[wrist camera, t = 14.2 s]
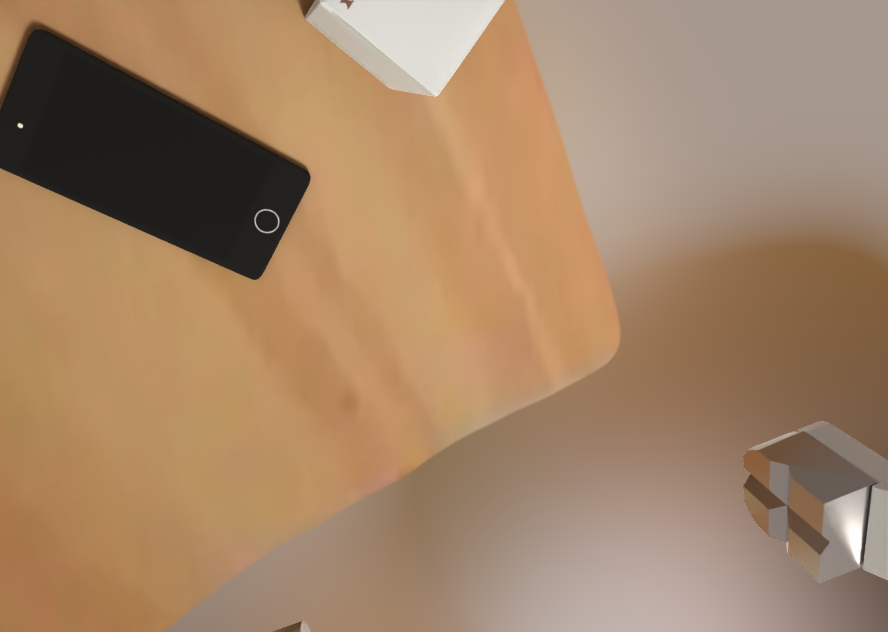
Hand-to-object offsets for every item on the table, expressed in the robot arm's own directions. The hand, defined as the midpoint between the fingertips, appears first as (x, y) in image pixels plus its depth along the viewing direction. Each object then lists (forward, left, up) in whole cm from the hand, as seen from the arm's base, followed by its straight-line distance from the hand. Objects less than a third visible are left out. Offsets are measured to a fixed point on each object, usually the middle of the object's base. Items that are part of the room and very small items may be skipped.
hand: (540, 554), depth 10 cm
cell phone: (-11, +4, -38) cm, 39 cm away
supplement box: (+6, +10, -37) cm, 39 cm away
